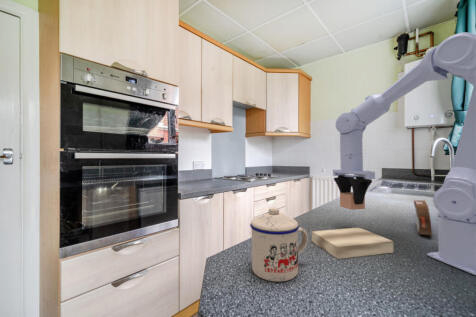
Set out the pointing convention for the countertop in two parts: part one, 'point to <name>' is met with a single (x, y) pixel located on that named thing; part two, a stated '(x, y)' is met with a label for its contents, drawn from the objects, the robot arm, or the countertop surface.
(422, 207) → the brown curved slab
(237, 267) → the countertop surface
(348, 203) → the block
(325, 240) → the base
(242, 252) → the countertop surface
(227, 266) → the countertop surface
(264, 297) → the countertop surface
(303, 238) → the teacup with lid
